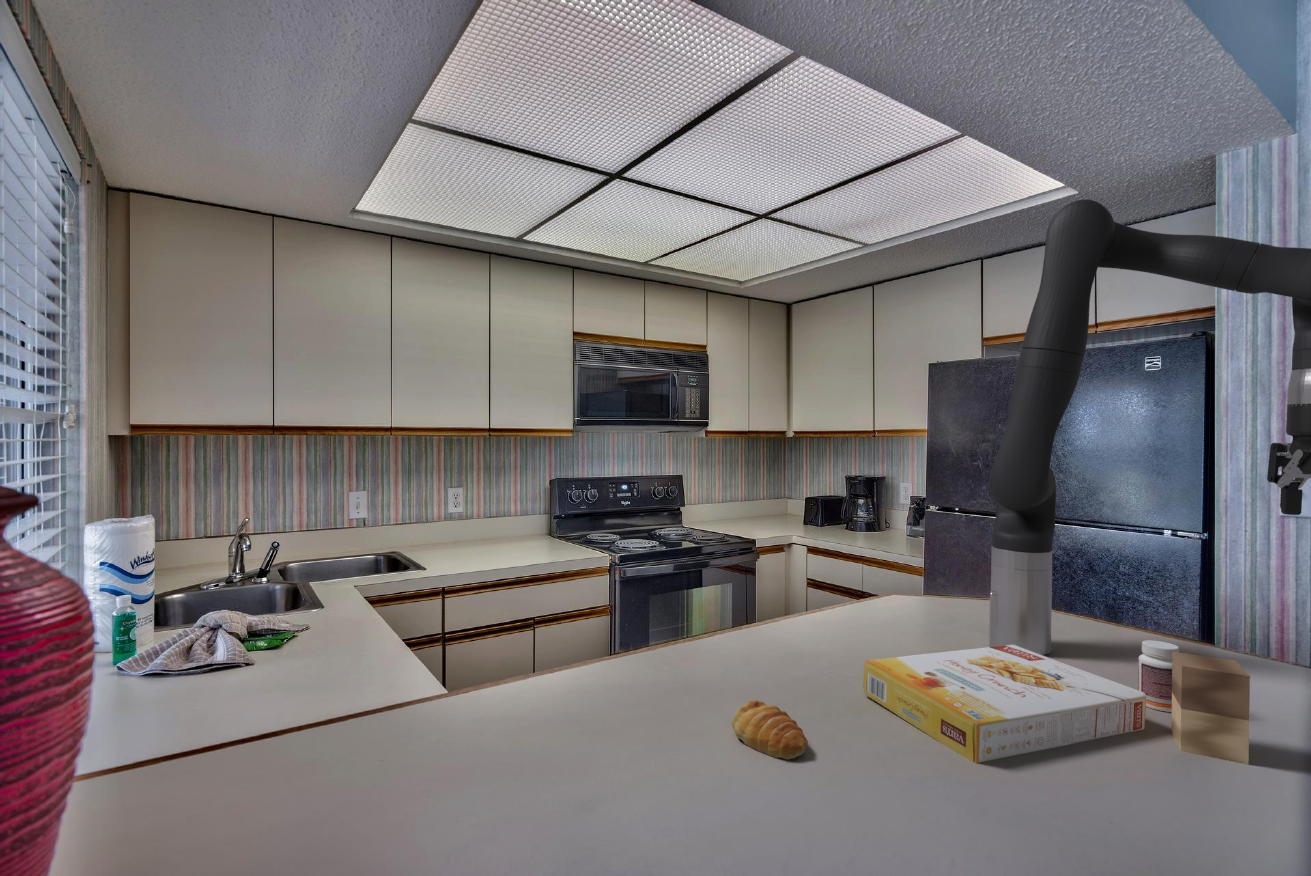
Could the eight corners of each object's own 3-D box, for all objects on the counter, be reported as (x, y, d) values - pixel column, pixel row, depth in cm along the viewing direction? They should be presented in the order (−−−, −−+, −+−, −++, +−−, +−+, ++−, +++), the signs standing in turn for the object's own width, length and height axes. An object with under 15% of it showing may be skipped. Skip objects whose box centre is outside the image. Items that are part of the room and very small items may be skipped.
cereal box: (861, 658, 91) (1011, 638, 101) (860, 697, 91) (1010, 674, 101) (979, 721, 72) (1150, 689, 82) (977, 771, 72) (1148, 733, 82)
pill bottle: (1190, 714, 86) (1190, 651, 86) (1149, 711, 87) (1150, 648, 87) (1169, 700, 91) (1170, 640, 91) (1131, 697, 92) (1131, 637, 92)
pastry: (822, 754, 75) (822, 721, 75) (778, 770, 71) (778, 735, 71) (766, 723, 83) (767, 693, 83) (724, 736, 79) (725, 704, 79)
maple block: (1180, 751, 76) (1181, 708, 76) (1171, 731, 81) (1171, 691, 81) (1248, 765, 73) (1249, 720, 73) (1234, 743, 78) (1235, 702, 78)
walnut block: (1181, 708, 76) (1181, 665, 76) (1171, 691, 81) (1172, 651, 81) (1249, 720, 73) (1249, 676, 73) (1235, 702, 78) (1235, 660, 78)
